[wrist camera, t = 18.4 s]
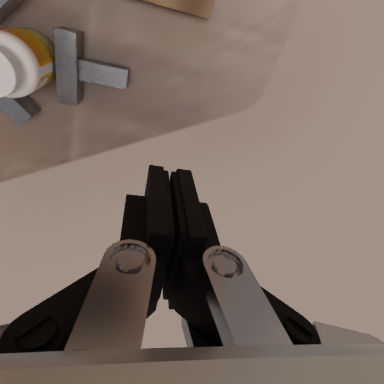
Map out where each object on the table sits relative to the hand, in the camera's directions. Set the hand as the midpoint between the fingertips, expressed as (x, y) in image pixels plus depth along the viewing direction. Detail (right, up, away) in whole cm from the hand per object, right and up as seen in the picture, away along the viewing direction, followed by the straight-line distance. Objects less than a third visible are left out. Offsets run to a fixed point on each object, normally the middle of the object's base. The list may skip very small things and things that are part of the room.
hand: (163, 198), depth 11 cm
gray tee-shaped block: (-10, +14, +19) cm, 25 cm away
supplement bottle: (-16, +15, +18) cm, 28 cm away
